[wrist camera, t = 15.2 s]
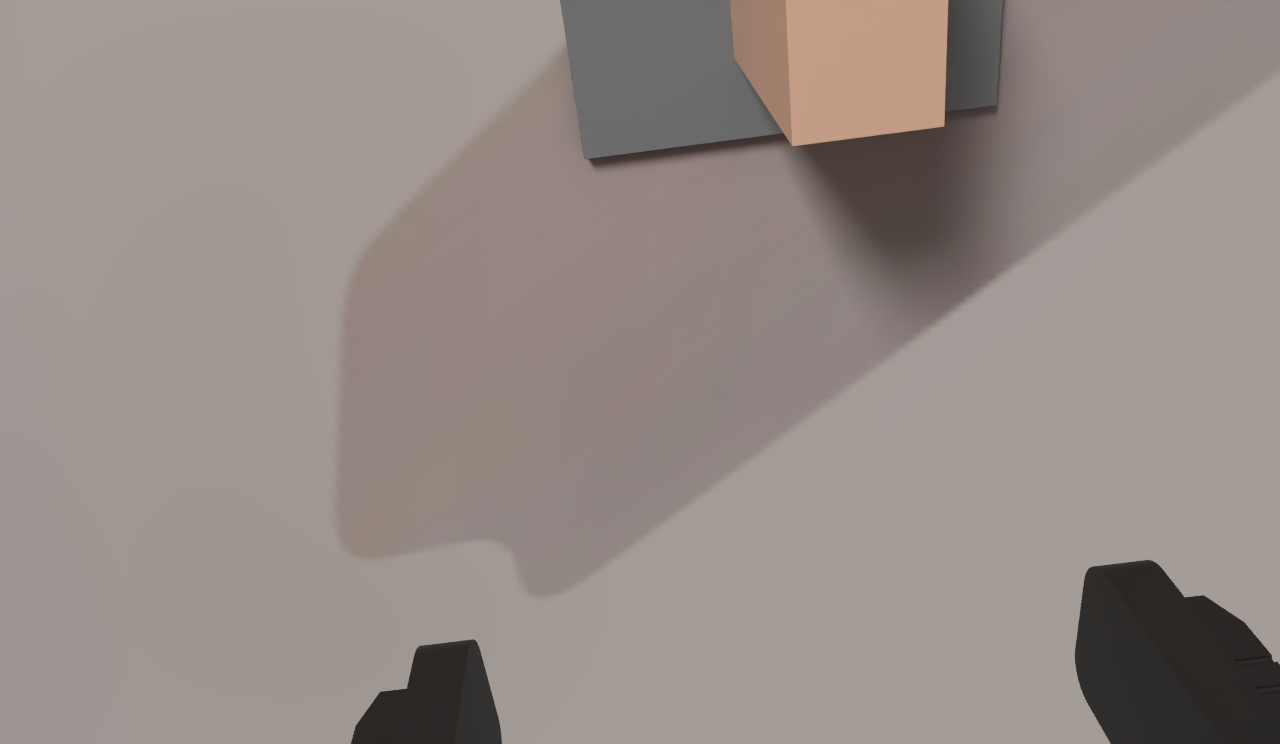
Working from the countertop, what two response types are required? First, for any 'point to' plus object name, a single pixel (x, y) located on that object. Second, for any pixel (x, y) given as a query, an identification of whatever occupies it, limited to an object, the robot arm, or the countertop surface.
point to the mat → (715, 72)
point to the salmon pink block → (844, 64)
